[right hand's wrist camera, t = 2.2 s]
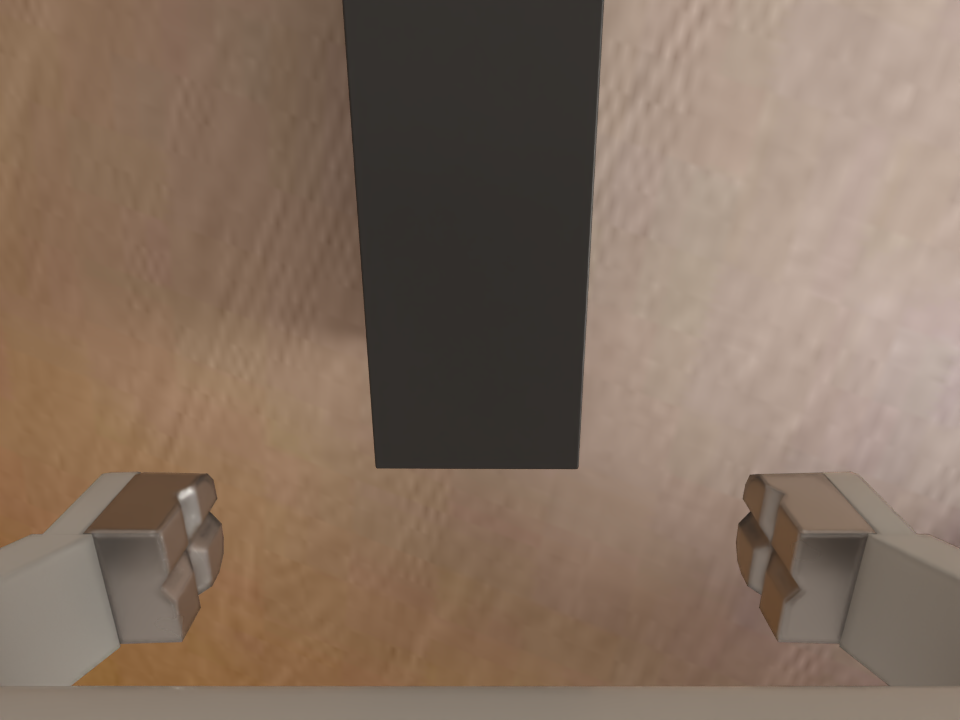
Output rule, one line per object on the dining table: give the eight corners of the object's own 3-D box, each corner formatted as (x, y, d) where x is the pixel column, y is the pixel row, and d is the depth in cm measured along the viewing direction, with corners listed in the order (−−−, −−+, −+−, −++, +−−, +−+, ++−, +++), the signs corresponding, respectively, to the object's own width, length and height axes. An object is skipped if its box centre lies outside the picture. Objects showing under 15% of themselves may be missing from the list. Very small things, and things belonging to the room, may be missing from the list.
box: (550, 346, 29) (578, 469, 20) (413, 345, 29) (375, 469, 20) (575, -382, 20) (648, -797, 11) (381, -379, 21) (285, -786, 11)
